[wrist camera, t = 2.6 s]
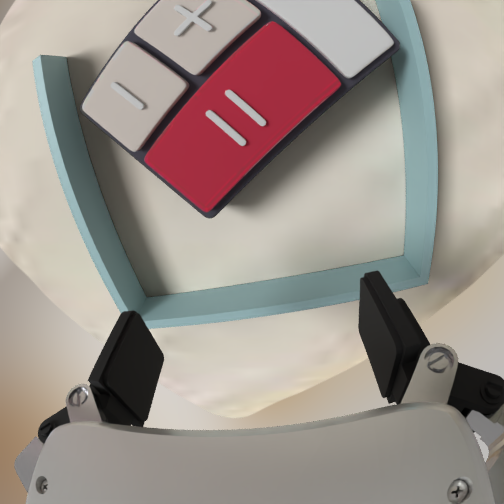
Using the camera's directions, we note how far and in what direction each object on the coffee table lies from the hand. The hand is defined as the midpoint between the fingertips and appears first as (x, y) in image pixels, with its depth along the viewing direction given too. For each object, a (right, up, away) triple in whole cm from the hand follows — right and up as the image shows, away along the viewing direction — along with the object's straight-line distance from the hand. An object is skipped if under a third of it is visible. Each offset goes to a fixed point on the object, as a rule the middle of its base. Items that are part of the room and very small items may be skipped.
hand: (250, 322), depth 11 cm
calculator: (-1, +14, +3) cm, 14 cm away
